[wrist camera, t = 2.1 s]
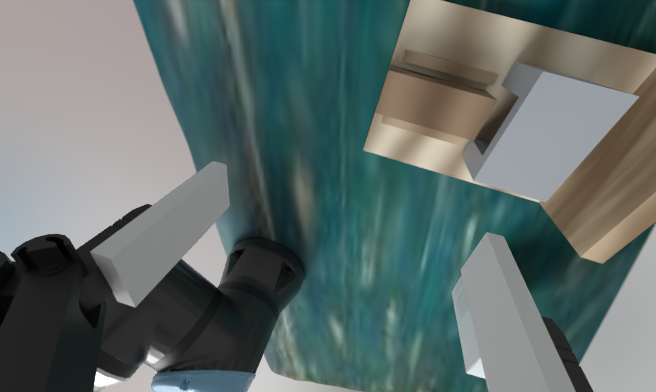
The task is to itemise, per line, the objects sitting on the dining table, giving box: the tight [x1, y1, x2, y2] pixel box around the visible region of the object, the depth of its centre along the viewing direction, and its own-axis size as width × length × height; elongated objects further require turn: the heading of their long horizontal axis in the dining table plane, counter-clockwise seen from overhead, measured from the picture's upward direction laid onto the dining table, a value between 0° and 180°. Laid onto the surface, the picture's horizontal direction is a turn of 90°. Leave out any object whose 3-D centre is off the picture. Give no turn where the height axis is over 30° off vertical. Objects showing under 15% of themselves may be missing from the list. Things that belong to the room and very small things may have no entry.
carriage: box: [462, 62, 640, 202], centre depth 25 cm, size 7×10×6 cm
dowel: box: [375, 65, 497, 141], centre depth 26 cm, size 10×4×4 cm, turn 78°
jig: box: [363, 0, 656, 264], centre depth 24 cm, size 24×16×10 cm, turn 78°
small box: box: [452, 275, 486, 379], centre depth 37 cm, size 8×6×13 cm
